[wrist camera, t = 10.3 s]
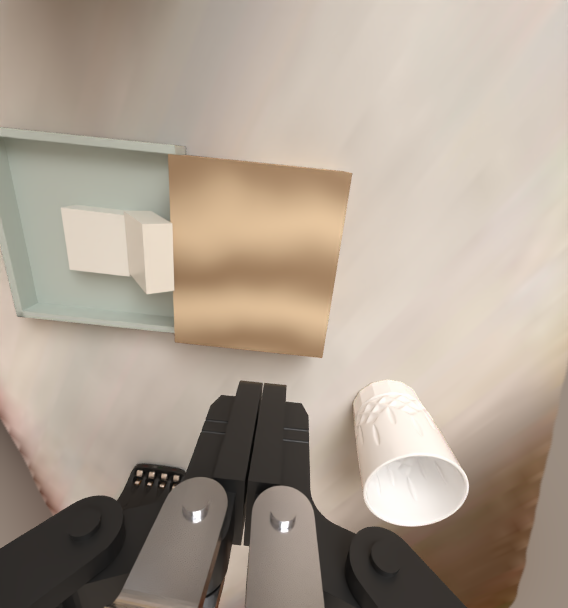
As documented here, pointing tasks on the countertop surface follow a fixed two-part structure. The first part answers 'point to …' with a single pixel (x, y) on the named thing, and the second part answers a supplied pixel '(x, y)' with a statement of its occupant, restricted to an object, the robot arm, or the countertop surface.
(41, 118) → the countertop surface
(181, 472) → the battery charger
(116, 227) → the tile back
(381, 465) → the white cup
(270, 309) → the tan flat block
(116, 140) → the tray
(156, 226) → the tile front
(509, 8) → the countertop surface
